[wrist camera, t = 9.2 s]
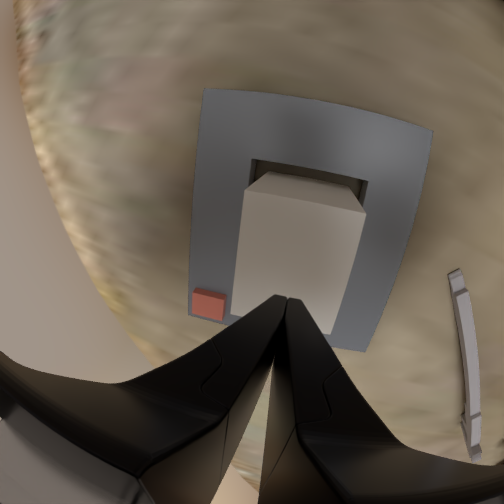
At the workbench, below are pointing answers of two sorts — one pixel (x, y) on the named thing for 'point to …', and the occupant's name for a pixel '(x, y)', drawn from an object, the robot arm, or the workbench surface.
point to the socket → (315, 157)
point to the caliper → (468, 364)
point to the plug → (296, 244)
